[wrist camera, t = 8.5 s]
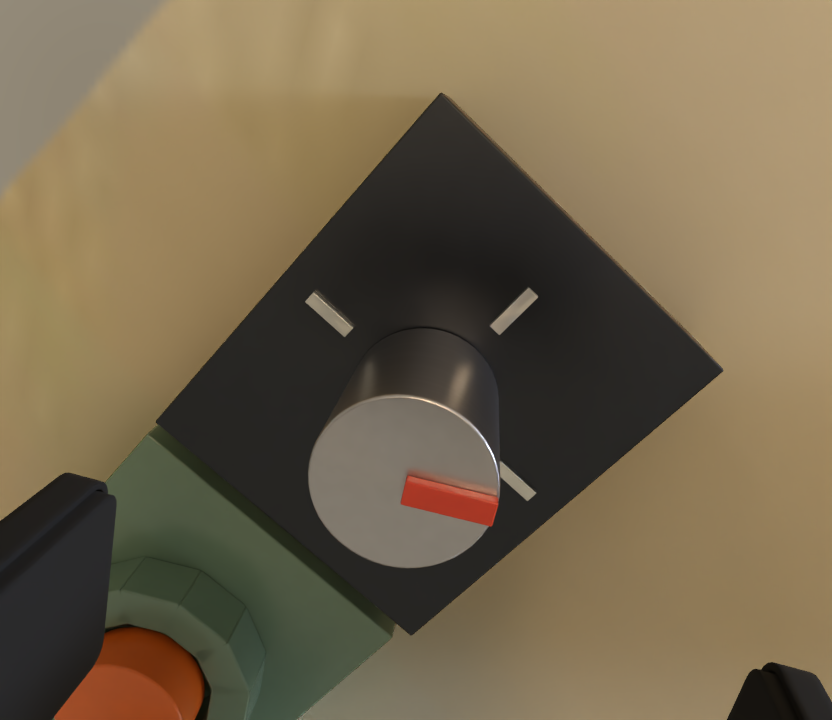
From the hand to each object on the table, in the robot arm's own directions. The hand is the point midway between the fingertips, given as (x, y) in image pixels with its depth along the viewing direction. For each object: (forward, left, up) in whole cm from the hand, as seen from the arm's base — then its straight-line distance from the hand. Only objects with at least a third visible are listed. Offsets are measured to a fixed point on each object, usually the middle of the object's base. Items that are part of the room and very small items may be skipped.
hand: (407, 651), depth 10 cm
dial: (0, -1, -10) cm, 10 cm away
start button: (+13, -1, -9) cm, 16 cm away
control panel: (0, -1, -13) cm, 13 cm away
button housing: (+13, -1, -13) cm, 19 cm away
